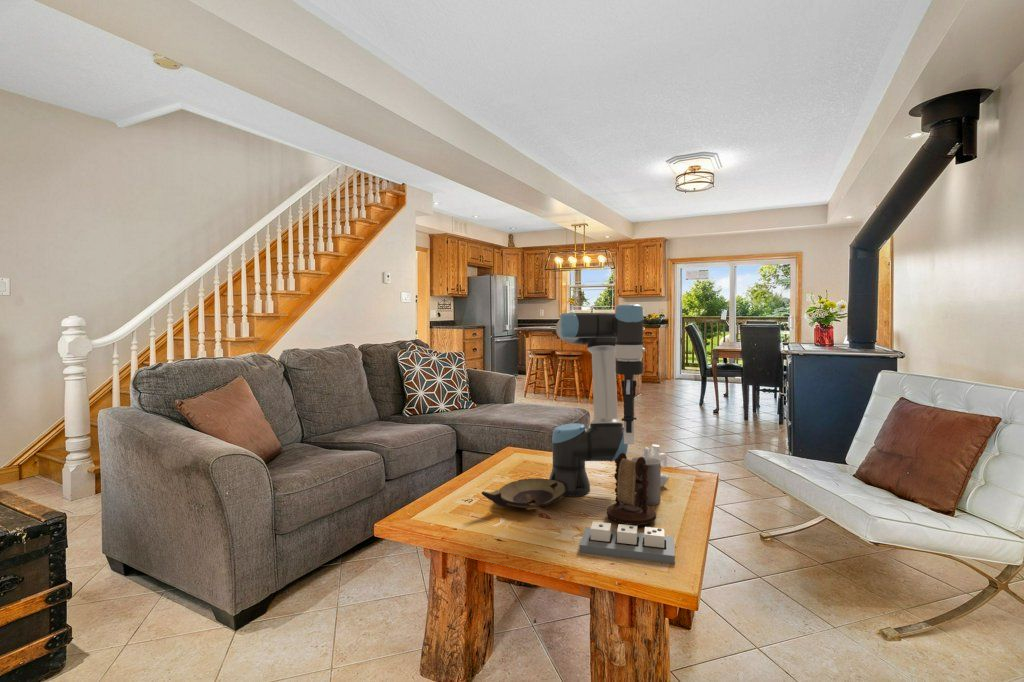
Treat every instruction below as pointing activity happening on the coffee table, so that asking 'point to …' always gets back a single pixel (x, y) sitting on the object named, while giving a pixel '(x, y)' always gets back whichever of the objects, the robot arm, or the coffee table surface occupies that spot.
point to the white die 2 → (627, 534)
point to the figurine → (659, 456)
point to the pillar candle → (651, 480)
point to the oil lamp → (527, 493)
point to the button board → (628, 548)
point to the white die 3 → (654, 537)
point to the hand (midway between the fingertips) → (629, 443)
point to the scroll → (631, 493)
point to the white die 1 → (601, 531)
